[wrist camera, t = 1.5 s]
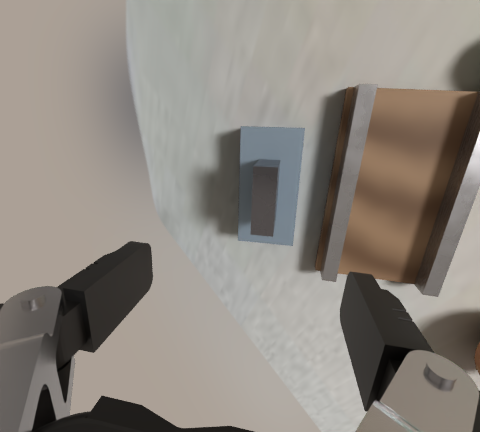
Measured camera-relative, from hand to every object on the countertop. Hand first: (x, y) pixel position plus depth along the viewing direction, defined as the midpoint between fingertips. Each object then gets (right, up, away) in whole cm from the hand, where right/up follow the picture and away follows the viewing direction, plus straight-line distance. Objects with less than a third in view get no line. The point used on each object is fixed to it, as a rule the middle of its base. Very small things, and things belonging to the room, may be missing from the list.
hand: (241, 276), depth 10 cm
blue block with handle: (+3, +6, +20) cm, 21 cm away
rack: (+16, +5, +17) cm, 24 cm away
